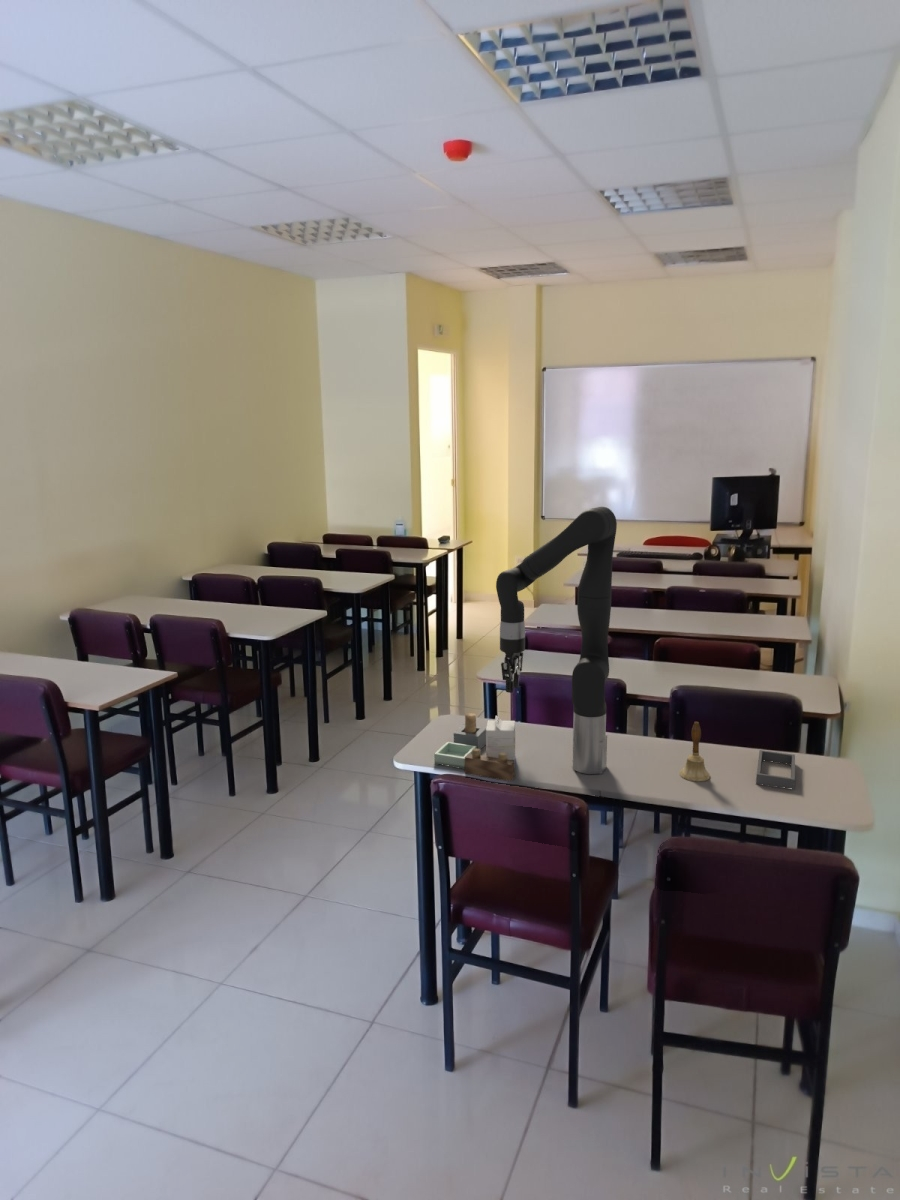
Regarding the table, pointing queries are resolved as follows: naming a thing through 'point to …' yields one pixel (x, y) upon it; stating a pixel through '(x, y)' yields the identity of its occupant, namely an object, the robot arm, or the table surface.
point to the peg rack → (490, 766)
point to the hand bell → (695, 760)
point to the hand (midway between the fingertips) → (512, 689)
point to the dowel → (470, 723)
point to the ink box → (500, 738)
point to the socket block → (471, 737)
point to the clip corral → (772, 779)
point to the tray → (453, 754)
